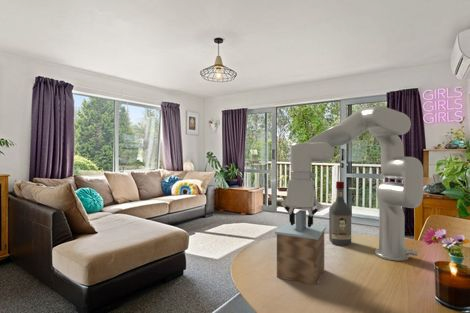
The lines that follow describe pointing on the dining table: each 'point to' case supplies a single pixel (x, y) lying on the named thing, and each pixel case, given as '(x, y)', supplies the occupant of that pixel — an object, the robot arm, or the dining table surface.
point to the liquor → (340, 219)
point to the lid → (301, 228)
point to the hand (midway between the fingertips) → (301, 225)
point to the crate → (300, 258)
